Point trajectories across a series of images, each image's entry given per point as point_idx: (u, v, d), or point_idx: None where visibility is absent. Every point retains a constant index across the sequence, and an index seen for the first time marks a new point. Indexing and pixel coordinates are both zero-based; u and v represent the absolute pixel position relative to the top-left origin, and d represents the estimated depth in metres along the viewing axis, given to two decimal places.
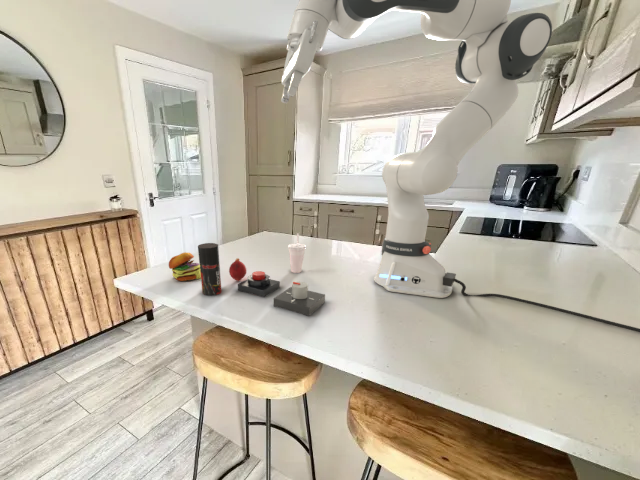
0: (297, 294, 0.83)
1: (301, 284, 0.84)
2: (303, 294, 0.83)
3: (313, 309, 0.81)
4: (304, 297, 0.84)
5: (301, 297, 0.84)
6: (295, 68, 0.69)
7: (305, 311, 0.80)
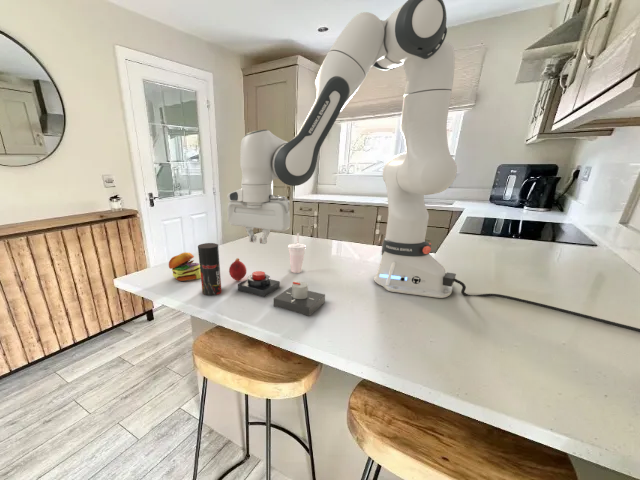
0: (297, 294, 0.83)
1: (301, 284, 0.84)
2: (303, 294, 0.83)
3: (313, 309, 0.81)
4: (304, 297, 0.84)
5: (301, 297, 0.84)
6: (277, 230, 0.85)
7: (305, 311, 0.80)
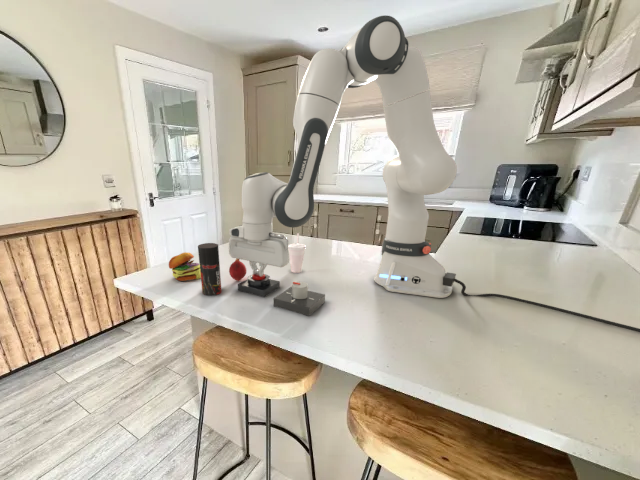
0: (297, 294, 0.83)
1: (301, 284, 0.84)
2: (303, 294, 0.83)
3: (313, 309, 0.81)
4: (304, 297, 0.84)
5: (301, 297, 0.84)
6: None
7: (305, 311, 0.80)
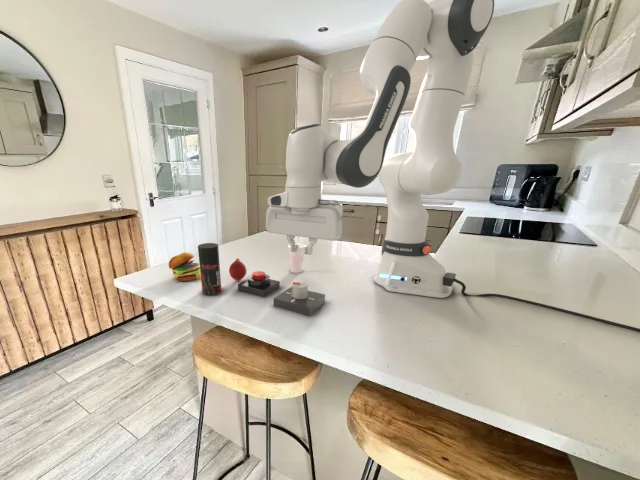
0: (297, 294, 0.83)
1: (301, 284, 0.84)
2: (303, 294, 0.83)
3: (313, 309, 0.81)
4: (304, 297, 0.84)
5: (301, 297, 0.84)
6: None
7: (305, 311, 0.80)
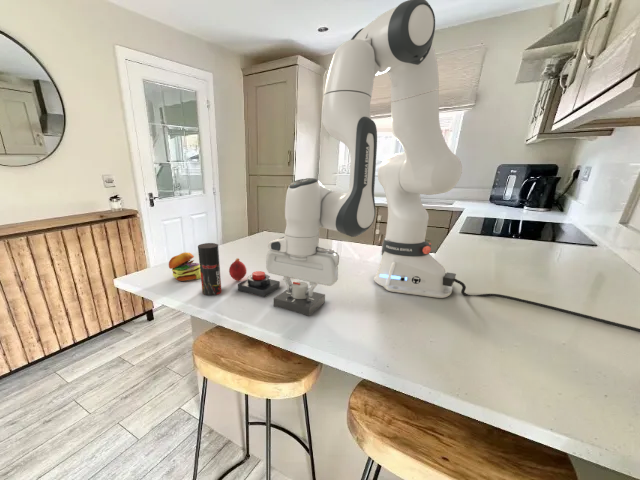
0: (297, 294, 0.83)
1: (301, 284, 0.84)
2: (303, 294, 0.83)
3: (313, 309, 0.81)
4: (304, 297, 0.84)
5: (301, 297, 0.84)
6: None
7: (305, 311, 0.80)
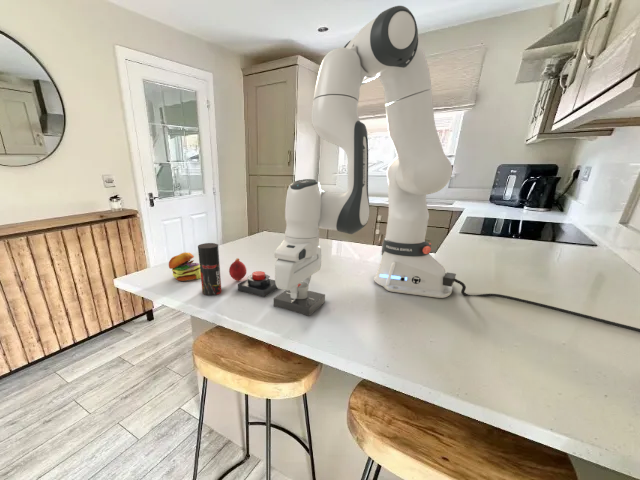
0: (307, 292, 0.84)
1: (299, 284, 0.85)
2: None
3: (313, 309, 0.81)
4: None
5: None
6: None
7: (305, 311, 0.80)
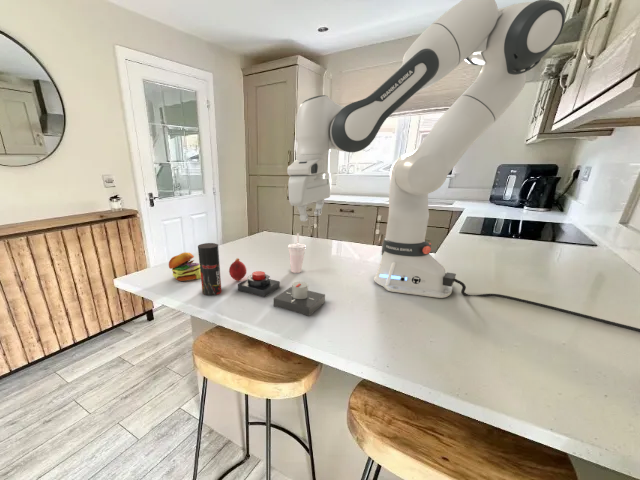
0: (307, 292, 0.84)
1: (299, 284, 0.85)
2: None
3: (313, 309, 0.81)
4: None
5: None
6: None
7: (305, 311, 0.80)
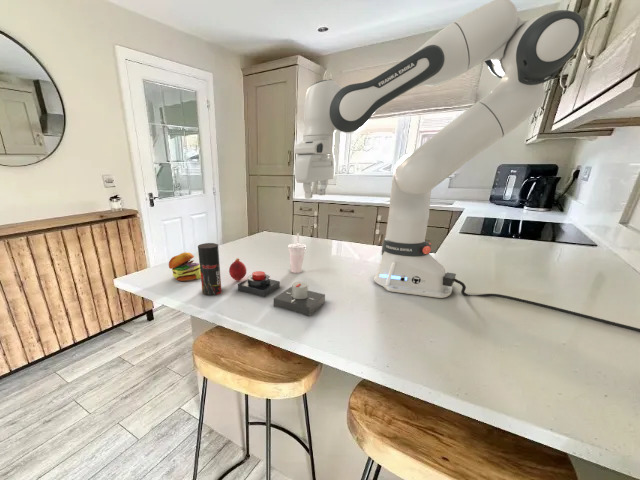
0: (307, 292, 0.84)
1: (299, 284, 0.85)
2: None
3: (313, 309, 0.81)
4: None
5: None
6: None
7: (305, 311, 0.80)
